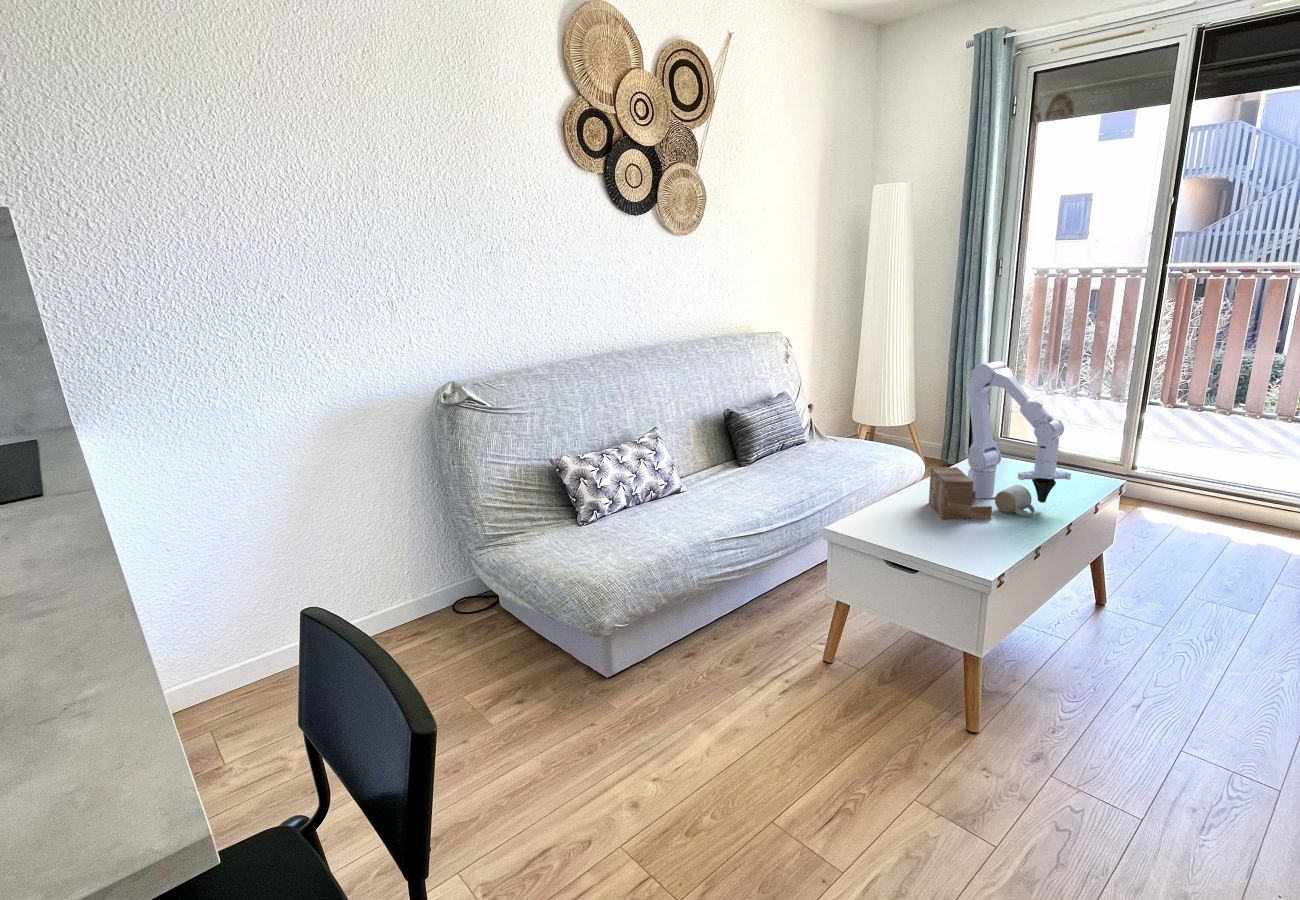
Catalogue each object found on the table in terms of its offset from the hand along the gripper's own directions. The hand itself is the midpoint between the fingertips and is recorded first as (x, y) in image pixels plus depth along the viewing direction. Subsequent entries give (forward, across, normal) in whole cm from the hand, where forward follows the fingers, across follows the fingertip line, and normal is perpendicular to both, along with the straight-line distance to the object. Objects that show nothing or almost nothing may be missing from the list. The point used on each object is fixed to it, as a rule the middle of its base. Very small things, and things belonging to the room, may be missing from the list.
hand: (1041, 501), depth 215 cm
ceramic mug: (+3, -8, -1) cm, 8 cm away
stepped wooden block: (+3, -24, 0) cm, 25 cm away
